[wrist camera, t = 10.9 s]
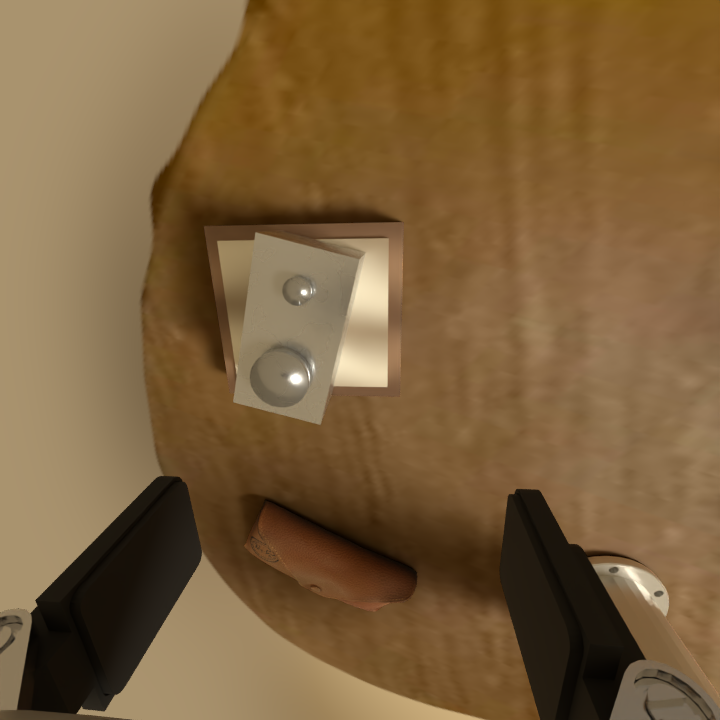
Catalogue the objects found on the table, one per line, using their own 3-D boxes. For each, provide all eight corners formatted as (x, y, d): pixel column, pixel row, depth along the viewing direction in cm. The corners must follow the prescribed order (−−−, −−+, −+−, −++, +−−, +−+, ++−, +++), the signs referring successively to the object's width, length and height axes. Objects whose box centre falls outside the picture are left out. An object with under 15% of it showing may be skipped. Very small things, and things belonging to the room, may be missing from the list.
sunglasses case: (237, 549, 41) (225, 576, 34) (268, 488, 42) (262, 504, 35) (380, 613, 42) (395, 651, 36) (406, 554, 44) (425, 580, 37)
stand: (399, 381, 32) (400, 399, 29) (243, 378, 33) (227, 395, 30) (402, 222, 28) (403, 222, 24) (222, 225, 29) (200, 226, 26)
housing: (365, 252, 25) (357, 261, 19) (332, 392, 29) (317, 434, 23) (281, 230, 25) (247, 232, 19) (258, 373, 29) (225, 410, 23)
